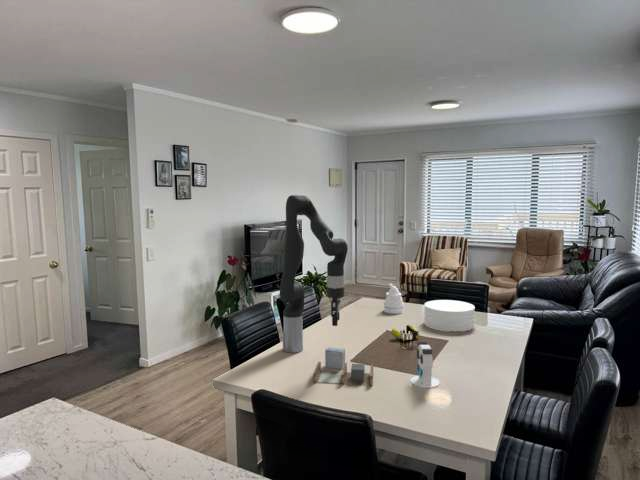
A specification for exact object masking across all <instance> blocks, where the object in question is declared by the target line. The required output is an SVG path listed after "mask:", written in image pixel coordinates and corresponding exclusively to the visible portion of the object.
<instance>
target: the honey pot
mask: <svg viewBox="0 0 640 480" xmlns="http://www.w3.org/2000/svg"><path fill="white" fill-rule="evenodd" d="M388 286H389V287H390V288H389V290H388V292H386V293H385V295H386V297H385V300H384V301H383V312H384V313H386V314H392V315H393V314H394V315H395V314H396V315H397V314H403V313H404V312H405V303H404V300H403V298H402V293H401V292H400V290H399V289H398V287H396V286H395V285H394V284H393V283H388Z"/></svg>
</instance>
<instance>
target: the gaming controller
mask: <svg viewBox="0 0 640 480" xmlns="http://www.w3.org/2000/svg"><path fill="white" fill-rule="evenodd" d="M405 328H406V332H407V331H411V332H412V334H413V339H414V340H418V339H419V337H420V331H419V330H417V329H415V327H414V326H413V325H411V324H407V325H406V326H405ZM400 333H401V332H400V331H398V330H397V329H396V328H392V329H391V335H392V336H393V337H395V339H398V340H400ZM414 340H413V341H414Z"/></svg>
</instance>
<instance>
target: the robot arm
mask: <svg viewBox="0 0 640 480" xmlns="http://www.w3.org/2000/svg"><path fill="white" fill-rule="evenodd" d="M298 216H305V217H307V218H308V219H309V221H310V222H309V223H310V231H311V232H312V234H313V235H314V237H315V238H316V239H317V240H318V241H319V244H320V246H321V249H322V251H323V253H324V254H325V255H326V256H329V257H334V258H333V259H332V260H330V261H329V262H327V264H326V265H327V266H326V268H327V269H326V272H327V273H326V274H327V275H326V277H327V278H326V297H327V298H330V299H331V301H330V316H331V324H332V326H333V327H337V326H338V325H339V324H338V322H339V321H340V312H341V303H342V301H341V298H344V297H345V275H344V273H345V272H344V271H345V270H344V269H345V266H344V265H345V262H346V259H347V256H348V255H347V254H348V249H349V248H348V243H347V242H346V240H345V239H343V238H334V232H333V230H332V229H331V228H330V227H329V226H328V225H327V223H326V222H325V221H324V220H323V219H322V217H321V215H320V214H319V212H318V210H317V209H316V207H315V205H314V203H313V201H312V200H311V198H310V197H309V196H306V195H297V194H296V195H295V194H294V195H292V194H291V195H289V196H288V197H287V199H286V203H285V236H284V237H285V241H284V250H283V265H282V274H281V278H280V280H281V281H280V286H279V297H280V300H281V301H282V302H283V303H284V304H287V305H286V307H284V309H283V331H282V352H286V353H291V354H294V353H301V352H302V351H303V350H304V345H303V343H304V340H303V337H304V336H303V335H304V334H303V333H304V332H303V331H304V330H303V326H304V325H303V312H304V309H305V289H304V286H303V284H302V283H301V282H299V281H295V279H296V274H297V271H298V269H299V268H300V266H301V264H302V261H303V259H304V255H305V254H304V252H305V241H304V239H303V236H302V234H301V233H300V230H299V227H298Z"/></svg>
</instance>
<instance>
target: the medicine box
mask: <svg viewBox="0 0 640 480" xmlns="http://www.w3.org/2000/svg"><path fill="white" fill-rule="evenodd" d="M324 354H325V356H324V359H325V360H324V363H325V364H324V365H325V368H328V369H337V370H343V367H344V363H346V348H342V347H341V348H340V347H333V346H332V347H331V346H328V347H326V349H325V350H324Z"/></svg>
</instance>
